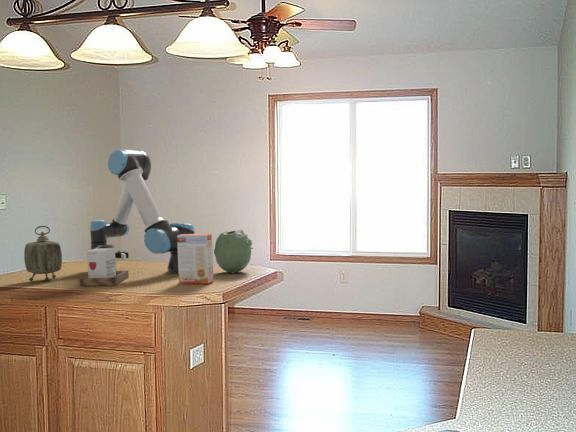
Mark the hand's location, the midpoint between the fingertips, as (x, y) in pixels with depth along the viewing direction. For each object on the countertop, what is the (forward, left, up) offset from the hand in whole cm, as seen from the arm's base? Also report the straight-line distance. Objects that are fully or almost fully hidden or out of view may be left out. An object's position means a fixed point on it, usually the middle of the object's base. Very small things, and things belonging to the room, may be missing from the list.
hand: (112, 258), depth 303 cm
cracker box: (-40, +15, -10) cm, 44 cm away
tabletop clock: (+32, -2, -10) cm, 33 cm away
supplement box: (+2, +10, -10) cm, 14 cm away
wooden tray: (+2, +6, -10) cm, 12 cm away
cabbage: (-53, -12, -10) cm, 55 cm away
